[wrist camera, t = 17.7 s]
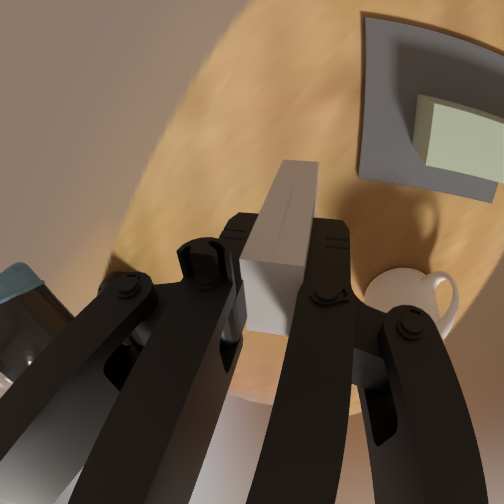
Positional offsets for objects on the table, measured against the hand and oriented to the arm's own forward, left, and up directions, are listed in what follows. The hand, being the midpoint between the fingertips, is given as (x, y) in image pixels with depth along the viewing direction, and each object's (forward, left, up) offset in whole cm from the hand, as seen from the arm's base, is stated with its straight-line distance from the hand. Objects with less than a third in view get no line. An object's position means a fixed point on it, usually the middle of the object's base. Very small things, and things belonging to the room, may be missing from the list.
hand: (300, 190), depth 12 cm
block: (+8, +1, -10) cm, 13 cm away
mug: (+12, -17, -13) cm, 24 cm away
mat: (+11, +2, -13) cm, 17 cm away
